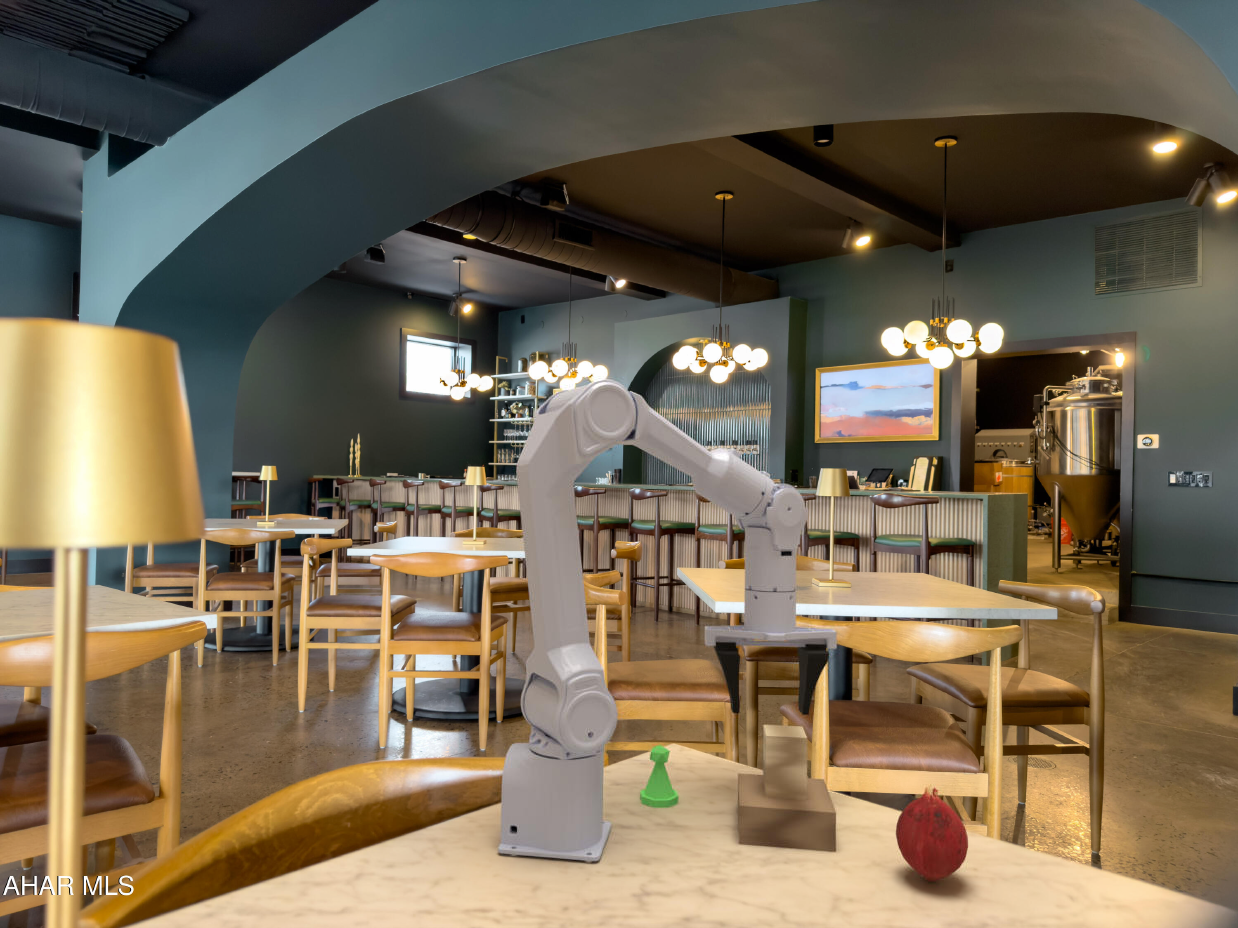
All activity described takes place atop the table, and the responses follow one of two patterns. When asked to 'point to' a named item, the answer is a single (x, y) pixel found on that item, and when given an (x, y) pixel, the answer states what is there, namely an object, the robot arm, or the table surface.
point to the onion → (931, 837)
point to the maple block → (785, 762)
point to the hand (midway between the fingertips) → (769, 711)
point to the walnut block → (785, 817)
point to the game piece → (659, 782)
